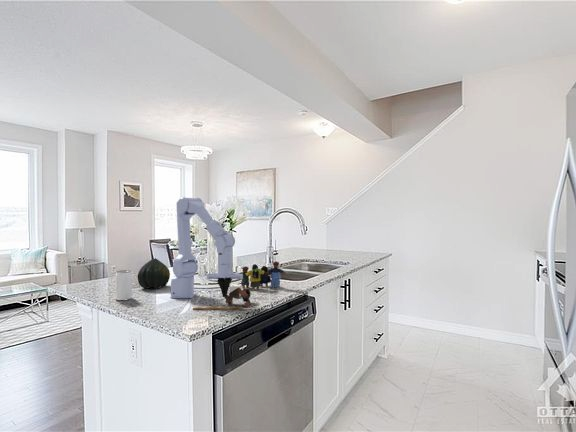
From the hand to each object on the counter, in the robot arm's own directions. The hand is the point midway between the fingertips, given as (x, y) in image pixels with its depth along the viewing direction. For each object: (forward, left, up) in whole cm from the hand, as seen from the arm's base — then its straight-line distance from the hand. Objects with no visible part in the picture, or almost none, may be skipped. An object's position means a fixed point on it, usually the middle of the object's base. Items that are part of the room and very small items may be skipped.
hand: (224, 296), depth 134 cm
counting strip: (-1, -8, -3) cm, 8 cm away
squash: (-41, +29, -3) cm, 50 cm away
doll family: (+13, +27, -3) cm, 30 cm away
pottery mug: (+7, -3, -3) cm, 8 cm away
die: (+3, +12, -2) cm, 12 cm away
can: (-45, +7, -3) cm, 45 cm away
